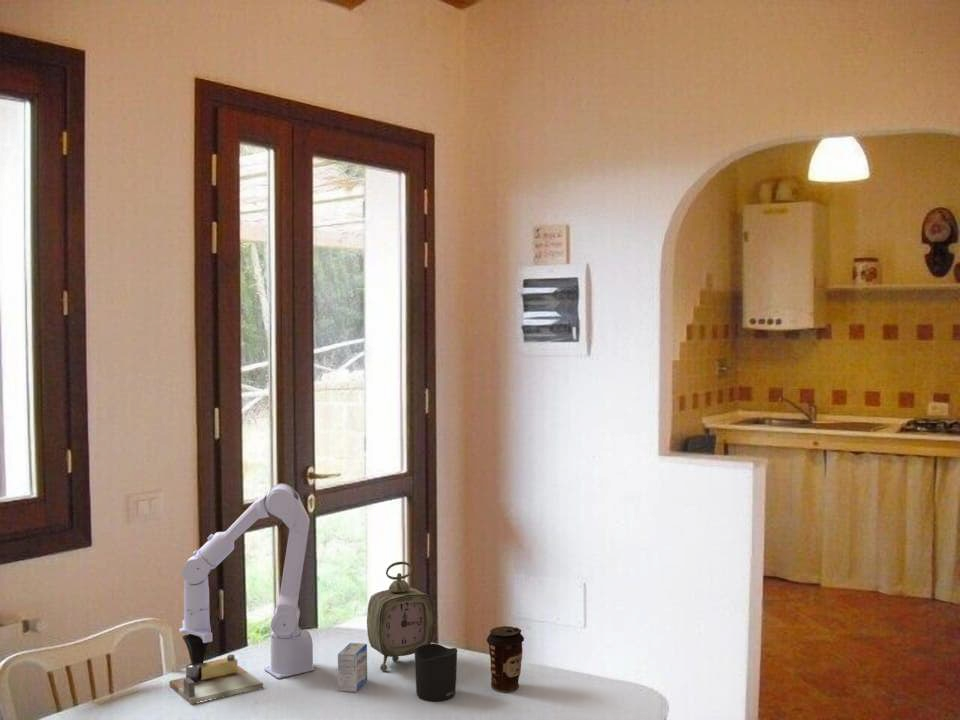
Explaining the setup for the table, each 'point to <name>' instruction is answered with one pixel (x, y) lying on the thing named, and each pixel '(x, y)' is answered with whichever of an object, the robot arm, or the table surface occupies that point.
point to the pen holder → (435, 672)
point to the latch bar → (211, 668)
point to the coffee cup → (505, 657)
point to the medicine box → (352, 667)
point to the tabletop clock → (399, 619)
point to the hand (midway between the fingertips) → (197, 665)
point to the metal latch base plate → (215, 686)
